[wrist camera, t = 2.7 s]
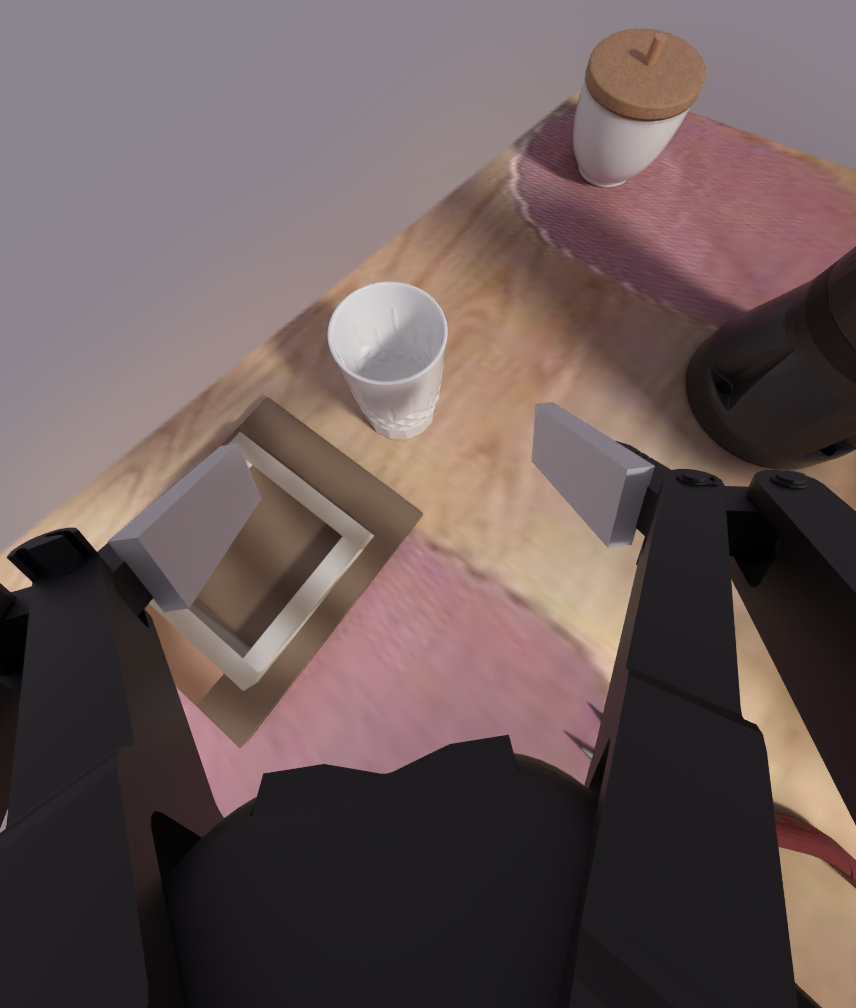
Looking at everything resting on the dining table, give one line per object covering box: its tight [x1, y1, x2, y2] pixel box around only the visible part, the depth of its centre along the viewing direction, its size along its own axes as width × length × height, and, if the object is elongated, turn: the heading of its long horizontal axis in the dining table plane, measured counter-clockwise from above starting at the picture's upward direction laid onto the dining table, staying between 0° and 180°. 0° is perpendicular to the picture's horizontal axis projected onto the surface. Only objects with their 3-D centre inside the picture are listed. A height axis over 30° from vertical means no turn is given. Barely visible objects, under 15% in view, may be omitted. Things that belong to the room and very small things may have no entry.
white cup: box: [328, 282, 448, 440], centre depth 26 cm, size 8×8×10 cm
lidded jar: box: [573, 29, 706, 188], centre depth 33 cm, size 11×11×9 cm
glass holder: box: [145, 397, 423, 748], centre depth 27 cm, size 22×18×3 cm
